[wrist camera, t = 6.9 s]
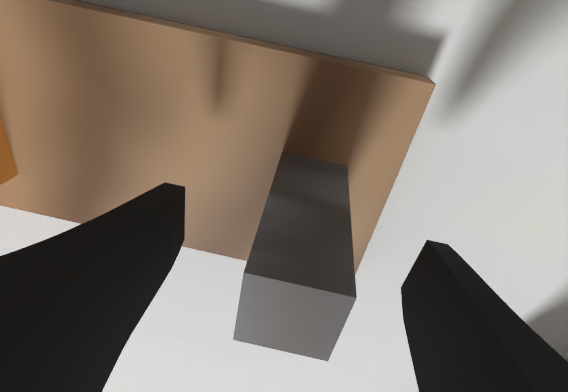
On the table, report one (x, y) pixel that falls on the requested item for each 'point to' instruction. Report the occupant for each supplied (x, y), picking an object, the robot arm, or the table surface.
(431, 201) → the table surface
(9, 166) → the cube
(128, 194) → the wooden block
